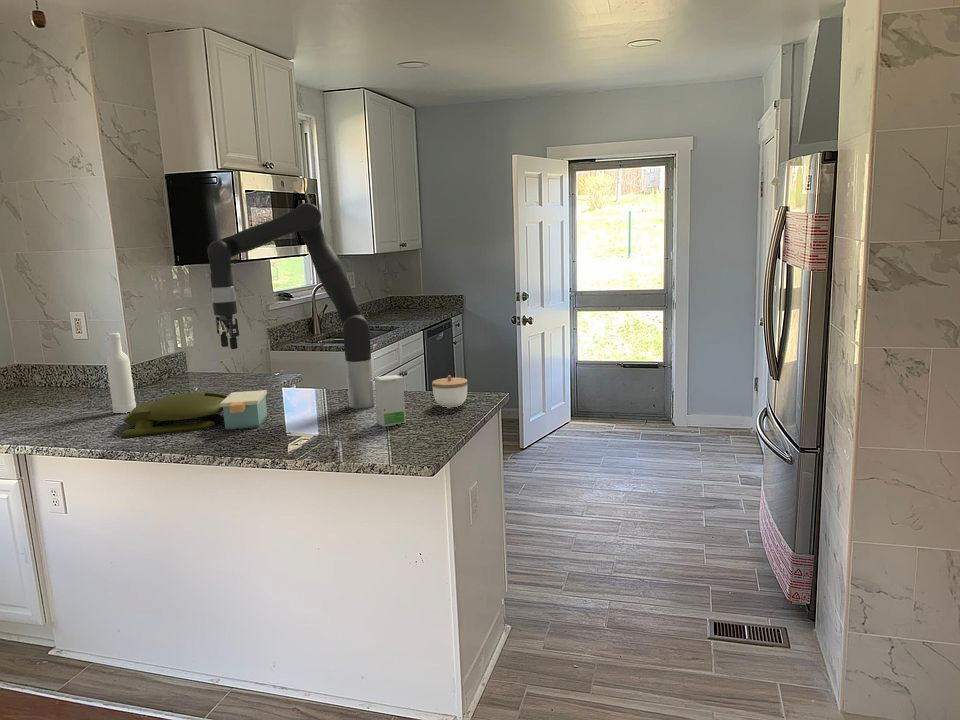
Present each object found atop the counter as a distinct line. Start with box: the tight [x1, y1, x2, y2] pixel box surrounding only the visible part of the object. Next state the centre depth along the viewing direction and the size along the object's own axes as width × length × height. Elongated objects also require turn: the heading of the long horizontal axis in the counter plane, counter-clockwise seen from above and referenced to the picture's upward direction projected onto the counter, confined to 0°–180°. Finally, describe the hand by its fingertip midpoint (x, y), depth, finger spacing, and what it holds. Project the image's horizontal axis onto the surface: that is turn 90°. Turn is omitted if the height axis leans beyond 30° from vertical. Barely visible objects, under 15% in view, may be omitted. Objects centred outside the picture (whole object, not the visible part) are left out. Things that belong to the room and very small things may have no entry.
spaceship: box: [121, 391, 228, 438], centre depth 251 cm, size 35×31×10 cm
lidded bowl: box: [431, 374, 469, 409], centre depth 254 cm, size 13×13×11 cm
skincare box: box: [373, 374, 407, 427], centre depth 234 cm, size 8×7×16 cm
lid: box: [220, 389, 268, 413], centre depth 242 cm, size 12×22×2 cm, turn 6°
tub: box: [222, 395, 268, 430], centre depth 245 cm, size 11×15×8 cm
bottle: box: [106, 332, 137, 414], centre depth 269 cm, size 8×8×30 cm
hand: (229, 347), depth 244 cm, fingers open, 8 cm apart
